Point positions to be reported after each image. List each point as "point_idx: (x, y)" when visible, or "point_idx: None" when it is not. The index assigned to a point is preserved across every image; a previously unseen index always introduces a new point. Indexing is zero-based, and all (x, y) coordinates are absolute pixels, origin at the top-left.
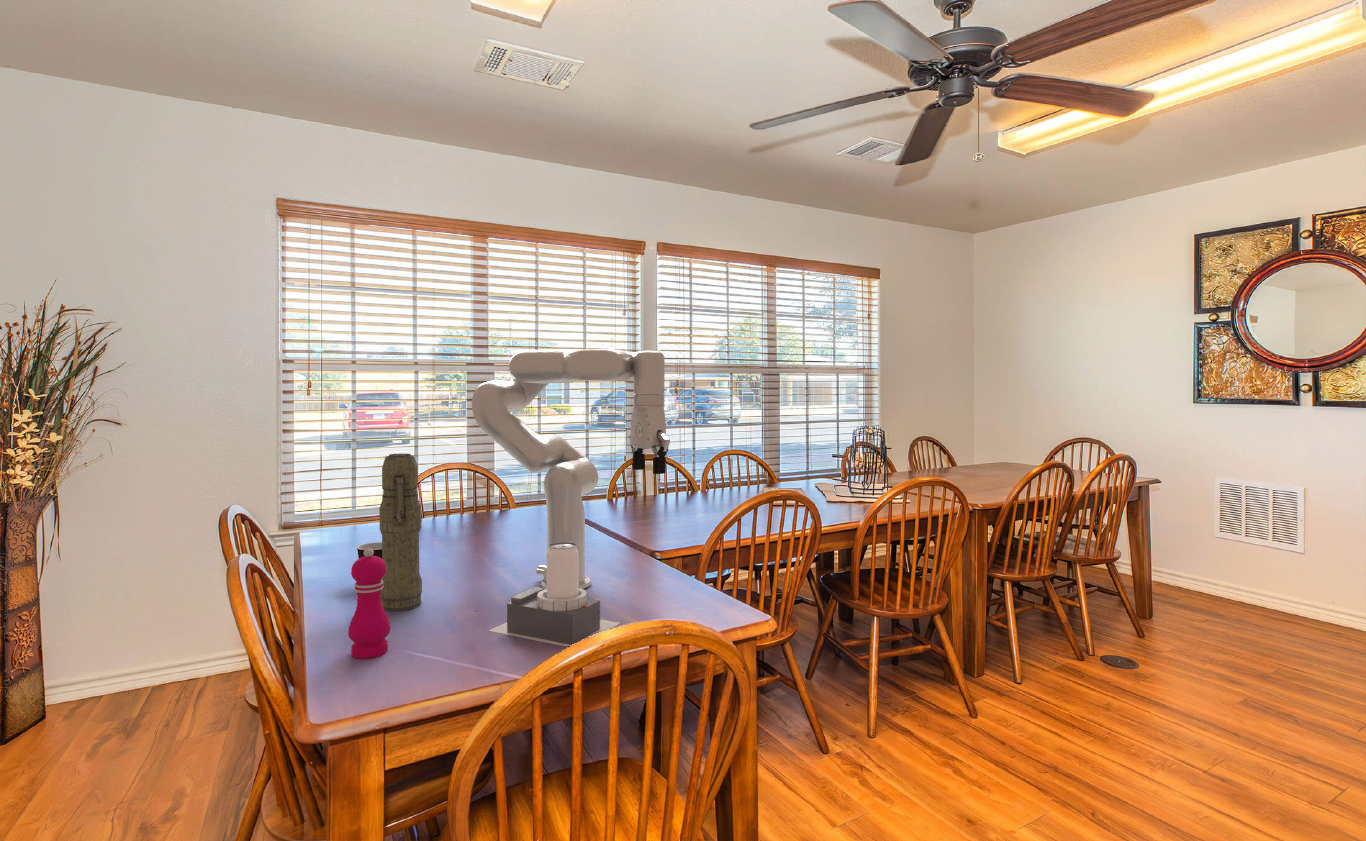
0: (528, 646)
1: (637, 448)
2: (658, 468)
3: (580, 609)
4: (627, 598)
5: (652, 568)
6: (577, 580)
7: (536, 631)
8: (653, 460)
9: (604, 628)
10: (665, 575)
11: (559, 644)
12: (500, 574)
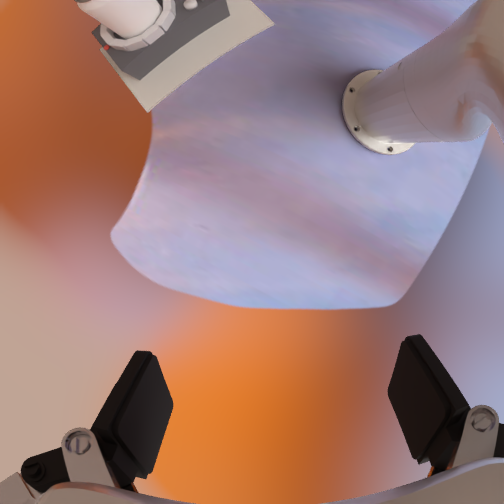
0: None
1: (446, 469)
2: (115, 384)
3: (102, 41)
4: (261, 169)
5: (392, 289)
6: (106, 26)
7: None
8: (109, 410)
9: (137, 86)
10: (347, 289)
11: None
12: None
